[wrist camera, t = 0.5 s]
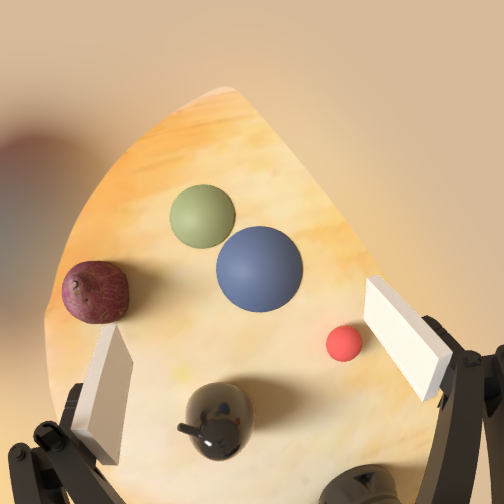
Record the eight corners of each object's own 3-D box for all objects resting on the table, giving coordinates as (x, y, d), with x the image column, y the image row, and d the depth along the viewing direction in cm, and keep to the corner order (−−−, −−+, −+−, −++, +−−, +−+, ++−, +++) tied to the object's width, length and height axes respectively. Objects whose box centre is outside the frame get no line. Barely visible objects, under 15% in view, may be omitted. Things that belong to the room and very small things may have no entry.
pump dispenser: (207, 362, 47) (196, 397, 31) (265, 393, 47) (278, 436, 32) (177, 412, 45) (157, 458, 30) (233, 440, 46) (234, 493, 30)
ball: (360, 337, 48) (374, 343, 43) (338, 363, 48) (350, 372, 42) (337, 316, 48) (350, 320, 43) (315, 343, 48) (324, 350, 42)
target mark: (318, 266, 49) (318, 266, 49) (262, 329, 48) (262, 329, 47) (256, 209, 49) (256, 209, 49) (198, 271, 48) (198, 271, 48)
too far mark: (247, 214, 49) (247, 213, 49) (203, 262, 48) (202, 262, 48) (201, 172, 49) (201, 172, 49) (157, 218, 48) (156, 218, 48)
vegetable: (118, 255, 50) (99, 219, 37) (141, 312, 48) (127, 295, 35) (65, 278, 47) (30, 250, 33) (85, 336, 45) (52, 328, 31)
